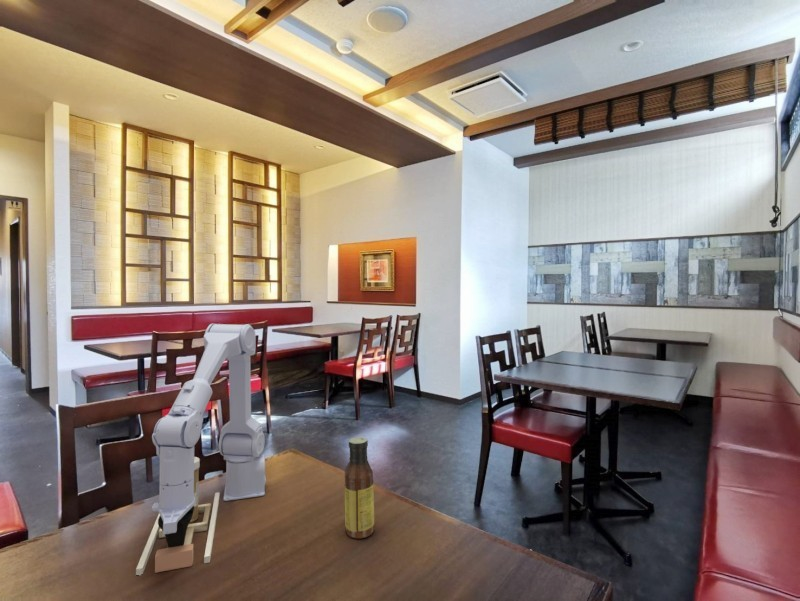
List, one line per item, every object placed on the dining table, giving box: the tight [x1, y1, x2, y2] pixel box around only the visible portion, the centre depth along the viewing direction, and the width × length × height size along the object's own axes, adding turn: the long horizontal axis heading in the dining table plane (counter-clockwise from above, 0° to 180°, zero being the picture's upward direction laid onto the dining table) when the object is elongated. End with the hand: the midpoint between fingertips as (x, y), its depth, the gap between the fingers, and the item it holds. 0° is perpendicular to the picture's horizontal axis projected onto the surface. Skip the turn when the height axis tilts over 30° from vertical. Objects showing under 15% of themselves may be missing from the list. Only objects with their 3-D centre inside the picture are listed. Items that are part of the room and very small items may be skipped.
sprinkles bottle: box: [189, 456, 201, 524], centre depth 91 cm, size 5×5×13 cm
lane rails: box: [135, 491, 221, 576], centre depth 87 cm, size 12×26×1 cm, turn 20°
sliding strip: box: [154, 502, 212, 574], centre depth 85 cm, size 9×20×3 cm, turn 20°
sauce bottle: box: [343, 436, 375, 539], centre depth 88 cm, size 7×6×20 cm
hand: (176, 550), depth 78 cm, fingers closed
